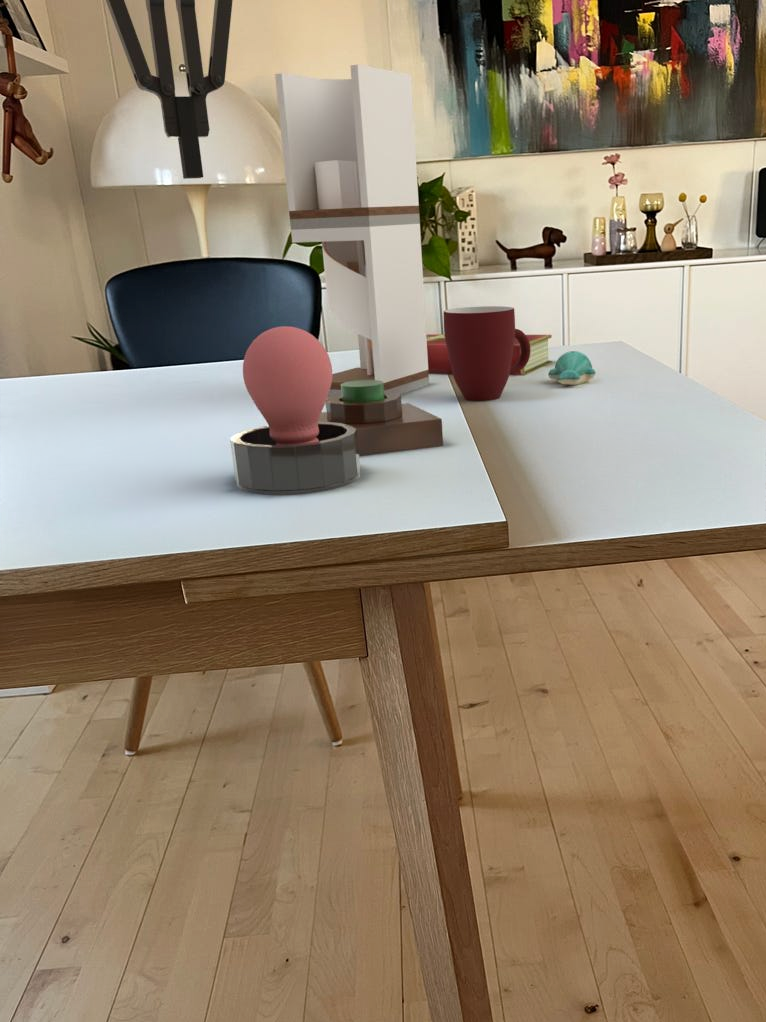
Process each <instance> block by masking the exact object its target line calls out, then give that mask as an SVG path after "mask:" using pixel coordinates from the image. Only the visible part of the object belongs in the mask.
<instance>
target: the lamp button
mask: <svg viewBox="0 0 766 1022" xmlns="http://www.w3.org/2000/svg"><path fill="white" fill-rule="evenodd" d="M341 393H342V401H343V402H369V401H377V400H382V399H385V396H384V383H383V381H379V380H358V381H350V382H345V383H342V384H341Z"/></svg>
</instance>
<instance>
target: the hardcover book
mask: <svg viewBox="0 0 766 1022" xmlns="http://www.w3.org/2000/svg"><path fill="white" fill-rule="evenodd" d="M525 335H526V336H527V338H528V340H529V343H530V358H529V361H528V363H527V364H526V366H525V367H524V368H523V369H521V370H520V371H518V372H516V373H513V374H510V375H509V376H526V375H528V374H530V373H532V372H535V371H537V370H539V369H541V368H544V367H546V366H547V365H550V364H552V363H553V361H552V360H549V339H552V334H525ZM426 338H427V355H428V373H429V375H453V373H452V369H451V364H450V359H449V355H448V350H447V345H446V341H445V335H444V333H443V334H441V333H436V334H431V333H430V334H429V333H426ZM520 354H521V347H520V344H519V341H518V340H517V339H516V338H514V346H513V353H512V360H511V367H513V366H514V365H516V364H517V362H518V361H519V358H520Z"/></svg>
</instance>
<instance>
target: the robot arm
mask: <svg viewBox="0 0 766 1022" xmlns="http://www.w3.org/2000/svg"><path fill="white" fill-rule="evenodd" d="M105 2H106V5H107V7H108V10H109V14H110V15H111V20H112V21H113V25H114V26H115V29H116V32H117V35H118V37H119V40H120V43H121V45H122V48H123V52H124V53H125V56H126V59H127V62H128V64H129V67H130V70H131V74H132V76H133V78H134V81H135V84H136V86H137V88H138V89H139V90H141V91H146V92H147V93H150V94H153V95H155V96H156V97H157V98H158V99H159V102H160V108H161V115H162V122H163V129H164V133H165V136H166V137H167V139H175V138H176V139H177V141H178V149H179V157H180V165H181V171H182V179H183V180H185V179H187V180H188V179H190V180H191V179H203V178H204V170H203V162H202V155H201V147H200V139H199V138H208V137H209V134H210V123H209V115H208V107H207V96H208V95H209V94H211V93H213V92H215V91H217V90H220V89H221V88H222V87H223V86H224V85H225V81H226V71H227V62H228V53H229V52H228V50H229V41H230V31H231V30H230V29H231V20H232V9H233V0H214V6H213V16H212V28H211V37H210V47H209V48H210V49H209V57H208V58H209V59H208V68H207V69H208V71H207V76H204V69H203V60H202V53H201V45H200V37H199V29H198V21H197V13H196V0H175V1H174V2H175V9H176V12H177V17H178V25H179V26H178V27H179V31H180V32H179V33H180V40H181V47H182V55H183V63H184V71H185V78H186V86H187V92H188V96H187V95H186V96H176V86H175V85H176V84H175V77H174V69H173V63H172V62H173V61H172V55H171V47H170V39H169V32H168V25H167V16H166V10H165V0H145V8H146V12H147V17H148V24H149V32H150V39H151V47H152V54H153V61H154V69H155V70H154V71H155V75H153V74H152V73H151V70H150V67H149V65H148V62H147V59H146V57H145V53H144V51H143V48H142V45H141V43H140V42H141V41H140V40H139V37H138V35H137V31H136V29H135V27H134V23H133V20H132V18H131V15H130V13H129V10H128V7H127V4H126V1H125V0H105Z"/></svg>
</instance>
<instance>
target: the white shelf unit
mask: <svg viewBox="0 0 766 1022" xmlns="http://www.w3.org/2000/svg"><path fill="white" fill-rule="evenodd" d="M274 79H275V87H276V98H277V106H278V108H277V109H278V117H279V127H280V135H281V136H280V138H281V145H282V146H281V147H282V157H283V165H284V176H285V186H286V195H287V205H288V206H287V207H288V213H289V224H290V225H289V226H290V234H291V235H290V236H291V243H292V244H293V243H294V244H295V243H319V242H321V247H322V249H321V250H322V259H323V269H324V280H325V291H326V301H327V310H328V312H329V314H330V316H331V317H332V318H333V319H334V320H336V321H337V322H338V323H339V324H340V325H341V326H343V327H345V328H346V329H348V330H349V331H351V332H353V333H355V334H357V339H358V341H357V342H358V352H359V353H358V354H359V363H360V367H354V368H350V369H346V370H343V371H339V372H335V373H332V383H331V387H330V390H329V393H328V396H327V399H328V398H330V397H333V396H337V395H342V393H341V384H342V383H345V382H350V381H358V380H379V381H383V383H384V392H390V393H396V394H398V395H403V394H407V393H409V392H412V391H415V390H418V389H420V388H421V389H422V388H424V387H427V386H430V374H429V373H428V355H427V338H426V334H427V323H426V322H427V321H426V305H425V289H424V272H423V270H424V269H423V256H422V255H423V254H422V253H423V252H422V238H421V237H422V235H421V221H420V220H421V219H420V204H419V185H418V171H417V170H418V167H417V154H416V152H417V150H416V135H415V133H416V132H415V119H414V99H413V83H412V81H413V80H412V73H407V72H401V71H395V70H390V69H385V68H379V67H373V66H367V65H362V64H352V65H351V64H350V78H343V79H342V78H341V79H339V78H338V79H335V78H333V79H332V78H331V79H330V78H317V77H316V78H315V77H308V76H301V75H294V74H288V73H275V74H274Z"/></svg>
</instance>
